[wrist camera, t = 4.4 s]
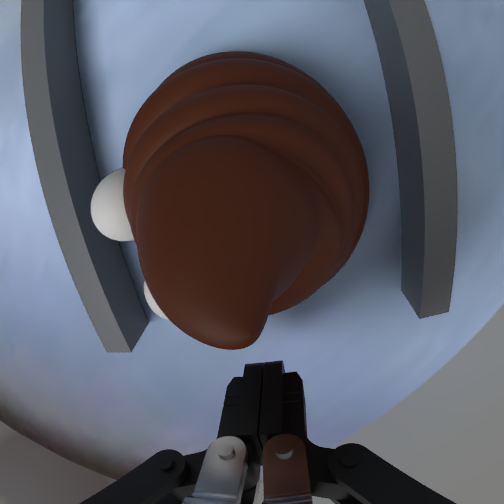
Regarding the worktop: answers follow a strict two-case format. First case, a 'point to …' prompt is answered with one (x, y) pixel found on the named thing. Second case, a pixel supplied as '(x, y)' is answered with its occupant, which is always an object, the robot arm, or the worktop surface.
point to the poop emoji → (236, 194)
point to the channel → (87, 179)
